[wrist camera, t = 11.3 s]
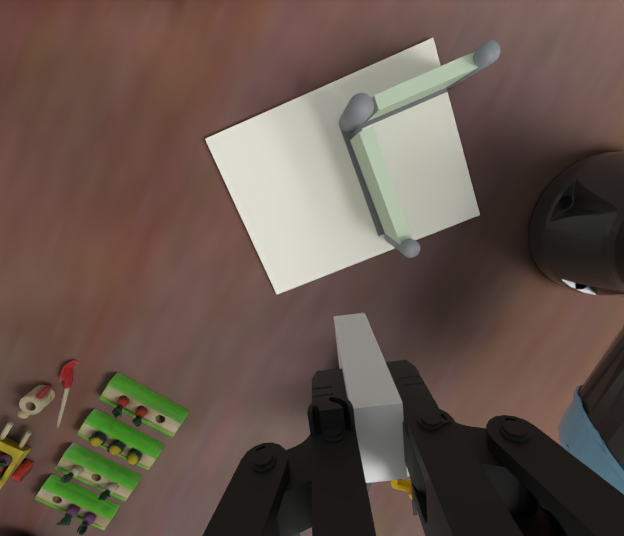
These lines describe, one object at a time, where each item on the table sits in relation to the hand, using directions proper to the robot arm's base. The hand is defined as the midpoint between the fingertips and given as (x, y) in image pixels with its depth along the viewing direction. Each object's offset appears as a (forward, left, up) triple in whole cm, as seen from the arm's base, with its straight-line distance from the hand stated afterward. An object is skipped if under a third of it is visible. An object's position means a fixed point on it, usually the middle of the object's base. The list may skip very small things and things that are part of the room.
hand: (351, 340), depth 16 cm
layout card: (-5, -6, -22) cm, 23 cm away
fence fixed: (-12, -11, -22) cm, 27 cm away
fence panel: (-7, -4, -21) cm, 22 cm away
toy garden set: (+39, +11, -22) cm, 46 cm away
